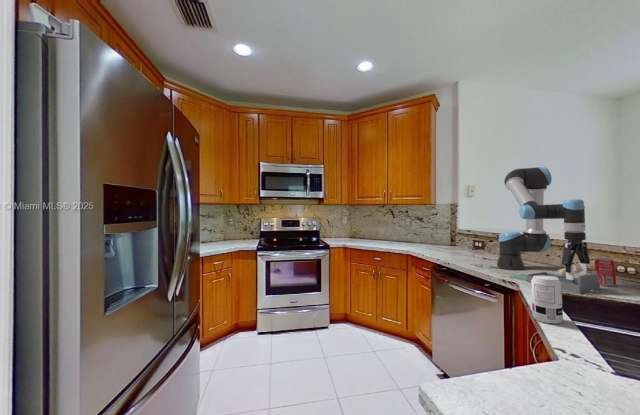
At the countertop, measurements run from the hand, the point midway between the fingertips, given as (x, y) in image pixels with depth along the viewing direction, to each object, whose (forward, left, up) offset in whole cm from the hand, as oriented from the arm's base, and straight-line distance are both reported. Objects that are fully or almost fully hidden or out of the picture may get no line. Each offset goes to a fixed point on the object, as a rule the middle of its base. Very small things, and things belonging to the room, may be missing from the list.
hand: (576, 278), depth 133 cm
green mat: (-24, 0, -5) cm, 25 cm away
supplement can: (+19, -53, -5) cm, 56 cm away
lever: (-5, 0, -1) cm, 5 cm away
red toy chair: (+2, +19, -5) cm, 20 cm away
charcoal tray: (-7, 0, -5) cm, 8 cm away
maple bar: (-2, 0, +2) cm, 3 cm away
